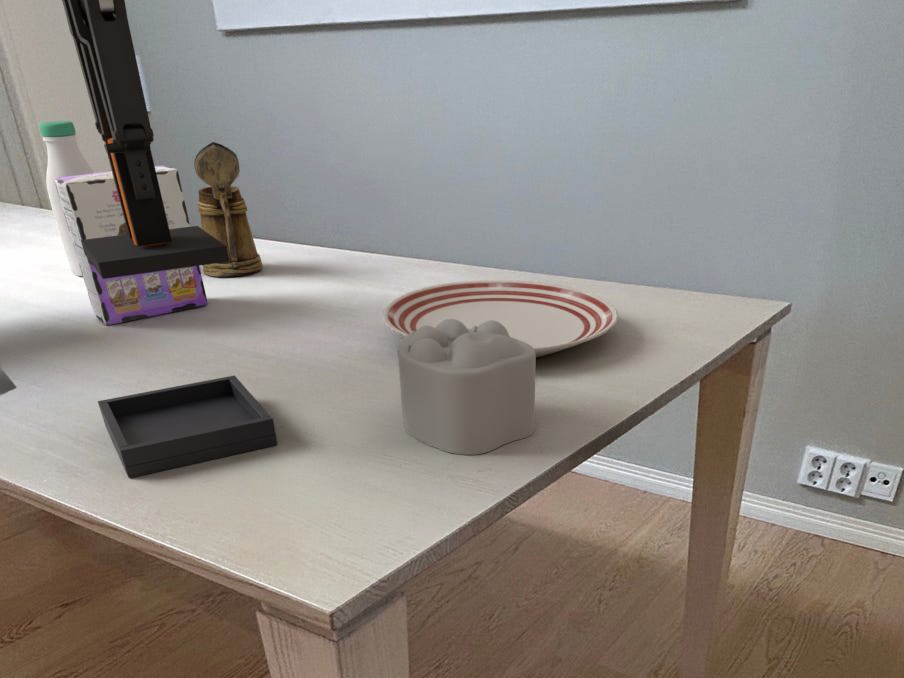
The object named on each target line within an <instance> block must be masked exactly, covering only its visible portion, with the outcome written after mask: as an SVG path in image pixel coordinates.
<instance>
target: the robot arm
mask: <svg viewBox="0 0 904 678" xmlns="http://www.w3.org/2000/svg"><path fill="white" fill-rule="evenodd" d="M61 2H62V5H63V8H64V13H65V16H66V17H65V18H66V20H67V25H68V29H69V33H70V35H71V37H72V39H73V43H74V47H75V51H76V54H77V58H78V61H79V65H80V69H81V73H82V76H83V79H84V84H85V87H86V91H87V94H88V98H89V101H90V105H91V109H92V113H93V117H94V120H95V122H94V125H95V128H96V130H97V133H98V134H99V135H101V140H102V142H104V144H103V146H104V150H105V152H106V154H107V158H108V161H109V166H110V169H111V170H110V171H112V174H113V177H114V181H115V185H116V189H117V193H118V197H119V201H120V204H121V208H122V212H123V216H124V220H125V224H126V227H127V231H128V235H129V237H130V238H132V234H131V230H130V226H129V222H128V218H127V215H126V211H125V207H124V203H123V199H122V195H121V191H120V187H119V184H118V180H117V176H116V172H115V168H114V164H113V160H112V156H111V153H113V154H114V158H115V162H116V166H117V170H118V174H119V178H120V182H121V186H122V190H123V193H124V197H125V201H126V205H127V209H128V213H129V217H130V221H131V225H132V229H133V232H134V236H135V240H136V244H137V245H138V246H141V245H149V244H157V243H165V242H172V239H171V235H170V230H169V226H168V222H167V218H166V213H165V209H164V205H163V200H162V196H161V192H160V187H159V183H158V179H157V174H156V170H155V166H156V165H155V161H154V157H153V153H152V149H151V145H152V143H153V142H154V139H155V138H154V131H153V128H152V126H151V121H150V118H149V117H150V116H149V113H148V108H147V103H146V99H145V93H144V89H143V84H142V80H141V79H142V78H141V75H140V70H139V66H138V61H137V56H136V52H135V47H134V42H133V37H132V32H131V29H130V24H129V19H128V12H127V6H126V0H61ZM110 138H113V140H112V143H108V141H107V140H108V139H110Z"/></svg>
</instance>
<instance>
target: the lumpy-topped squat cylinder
mask: <svg viewBox="0 0 904 678" xmlns="http://www.w3.org/2000/svg"><path fill="white" fill-rule="evenodd" d="M536 358H537V357H536V355H535V350H534V348H533V347H532V346H531V345H529V344H527V343H525V342H523V341H520V340H517V339H515V338H512V337H510V336H509V334H508V331H507V330H506V328H505V327H504V326H503V325H502V324H501V323H499V322H497V321H493V320H491V321H487V322H484V323H482V324H481V325H479V326H478V327H477V326H474V327H472V328H471V329H467V328H466V326H465V325H464V324H463V323H462V322H460V321H458V320H456V319H447V320H444V321H442V322H440V323H439V324H438V325H437V326H436V327H435V328H434V327H432V326H422V327H420V328H419V329H417V330H416V332H415V331H413V332H412V333H410V334H408V335H406V336H405V337H402V338H401V339H400V340H399V342H398V343H397V362H398V371H399V373H398V374H399V386H400V396H401V408H402V421H403V422H402V423H403V426H404V429H405V431H406V433H407V434H408V435H410V436H411V437H412V438H414V439H417V440H418V441H420V442H422V443H424V444H426V445H429V446H431V447H434V448H436V449H438V450H441V451H444V452H447V453H450V454H454V455H462V456H463V455H466V456H470V455H471V456H475V455H482V454H487V453H489V452H492V451H494V450H495V449H497V448H499V447H501V446H504V445H505V444H508V443H511V442H515V441H519V440H522V439H525V438H528V437H530V436H531V435H533V434H534V433H535V422H536V421H535V420H536V419H535V415H536V414H535V411H536V363H537V361H536V360H537V359H536Z"/></svg>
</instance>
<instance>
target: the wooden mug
mask: <svg viewBox="0 0 904 678" xmlns="http://www.w3.org/2000/svg"><path fill="white" fill-rule="evenodd" d="M194 169H195V173H196V175H197V177H198V179H200V180H201V181H202V182H203V183H205V184H206V185H208V186H205V187H203V188H200V189H198V200H197V208H198V210H197V211H198V213H199V214H200V225H201V229H203V230H204V231H206V232H207V233H208V234H210V235H211V236H213V237H214V238H216V239H217V240H219V241H220V242H221V243H223V244H224V245H226V246H227V251H228V256H229V262H222V263H214V264H207V265H202V271H203V274H204V275H207V276H209V277H214V278H215V277H216V278H235V277H243V276H248V275H252V274H256V273H258V272H260V271H261V270H262V269H263V268H264V266H263V262H262V258H261V255H260V254H259V253H258V251H257V247H256V244H255V240H254V236H253V233H252V230H251V226H250V223H249V219H248V215H247V212H248V207H247V203H246V201H245V199H244V198H243V197H242V193H241V191H240V189H239V187H238V186H233V183H234V182H235V181H236V180H237V178H238V177H239V175H240V161H239V159H238V156H237V154H236V153H235V152H234V150H232V149H230V148H229V147H227V146H225V145H223V144H221V143H218V142H215V141H212V142H210V143H209V144H207V145H205V146H204V147H203V148H201V149H200V150H199V151H198V153H197V154H196V155H195V158H194Z"/></svg>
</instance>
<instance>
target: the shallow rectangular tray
mask: <svg viewBox="0 0 904 678" xmlns="http://www.w3.org/2000/svg"><path fill="white" fill-rule="evenodd" d="M97 404H98V407H99V410H100V414H101V417H102V420H103V423H104V426H105V429H106V431H107V433H108V435H109V438H110V440H111V443H112V444H113V447H114V449H115V451H116V453H117V456H118V458H119V460H120V462H121V464H122V467H123V469H124V472H125V473H126V476H127V477H128V479H131V478H135V477H140V476H144V475H149V474H153V473H159V472H162V471H167V470H172V469H176V468H181V467H186V466H190V465H193V464H198V463H204V462H208V461H212V460H216V459H221V458H224V457H230V456H233V455H234V456H235V455H238V454H239V455H240V454H242V453H243V454H244V453H246V452H251V451H255V450H261V449H265V448H269V447H274V446H277V445H278V444H279V442H278V437H277V431H276V427H275V421H274V418H273V417H272V416H271V415H270V413H269V412H268V411H267V410H266V409H265V407H263V405H262V404H261V403H260V402H259V401H258V400H257V399H256V398H255V396H254V395H253V394H252V393H251V392H250V391H249V390H248V389H247V388H246V387H245V386H244V384H243V383H242V382H241V381H240V380H239V379H238V378H237V376H236V375H229V376H224V377H223V376H222V377H219V378H213V379H208V380H202V381H198V382H191V383H187V384H182V385H176V386H170V387H166V388H160V389H155V390H150V391H143V392H138V393H135V394H133V393H132V394H129V395H123V396H118V397H112V398H108V399H107V398H106V399H102V400H98V401H97ZM278 446H279V445H278Z"/></svg>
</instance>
